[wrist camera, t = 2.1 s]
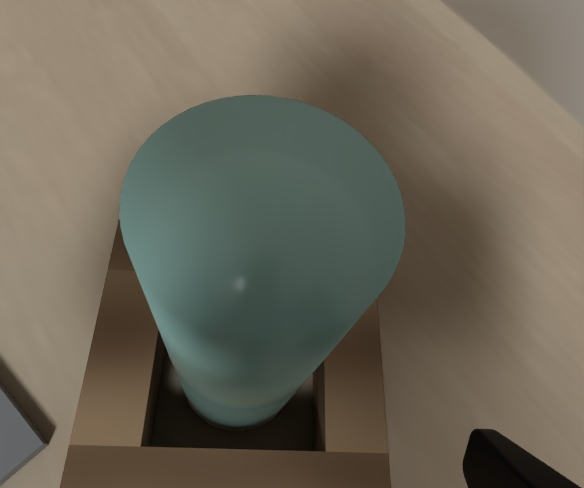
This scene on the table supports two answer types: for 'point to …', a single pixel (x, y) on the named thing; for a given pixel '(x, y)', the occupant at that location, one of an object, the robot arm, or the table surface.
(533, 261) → the table surface
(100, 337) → the pocket block
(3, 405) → the coaster
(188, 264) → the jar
